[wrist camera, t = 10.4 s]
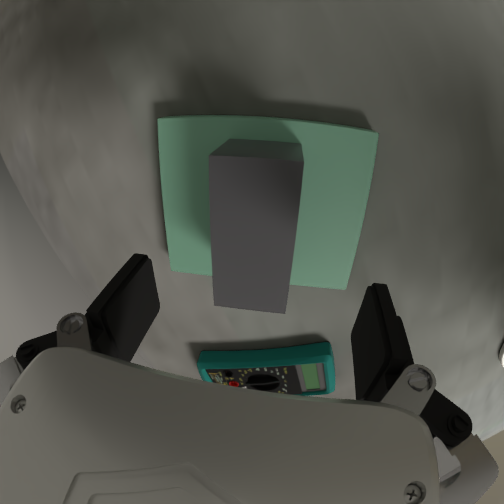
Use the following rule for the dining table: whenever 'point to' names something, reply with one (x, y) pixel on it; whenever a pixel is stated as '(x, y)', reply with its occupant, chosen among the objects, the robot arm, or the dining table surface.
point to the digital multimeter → (273, 369)
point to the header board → (312, 193)
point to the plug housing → (254, 221)
